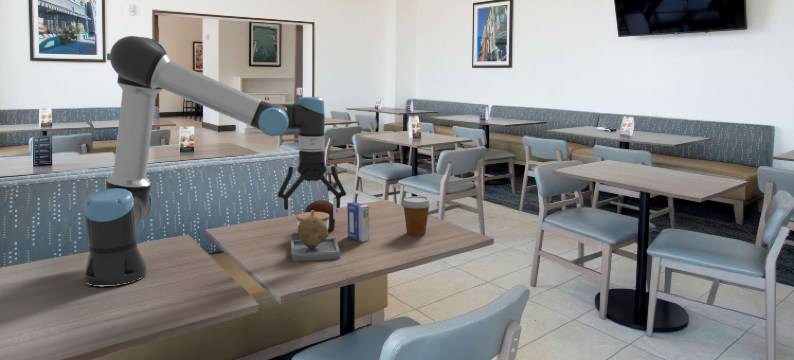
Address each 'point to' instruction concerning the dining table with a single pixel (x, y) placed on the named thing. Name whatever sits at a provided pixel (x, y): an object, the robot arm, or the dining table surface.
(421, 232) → the disposable coffee cup
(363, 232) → the walkman
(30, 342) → the dining table surface
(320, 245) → the slate square tray
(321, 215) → the lidded jar
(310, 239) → the natural sponge
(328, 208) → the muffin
